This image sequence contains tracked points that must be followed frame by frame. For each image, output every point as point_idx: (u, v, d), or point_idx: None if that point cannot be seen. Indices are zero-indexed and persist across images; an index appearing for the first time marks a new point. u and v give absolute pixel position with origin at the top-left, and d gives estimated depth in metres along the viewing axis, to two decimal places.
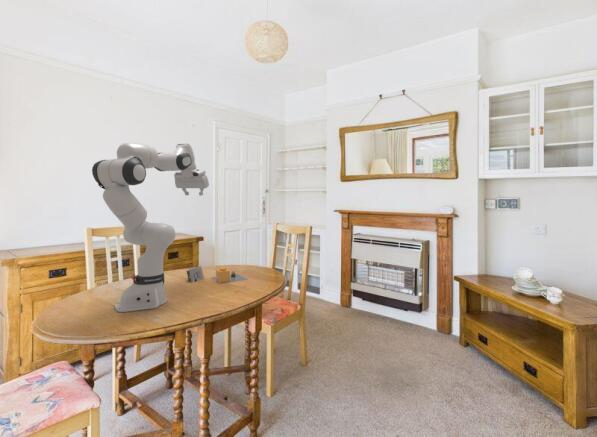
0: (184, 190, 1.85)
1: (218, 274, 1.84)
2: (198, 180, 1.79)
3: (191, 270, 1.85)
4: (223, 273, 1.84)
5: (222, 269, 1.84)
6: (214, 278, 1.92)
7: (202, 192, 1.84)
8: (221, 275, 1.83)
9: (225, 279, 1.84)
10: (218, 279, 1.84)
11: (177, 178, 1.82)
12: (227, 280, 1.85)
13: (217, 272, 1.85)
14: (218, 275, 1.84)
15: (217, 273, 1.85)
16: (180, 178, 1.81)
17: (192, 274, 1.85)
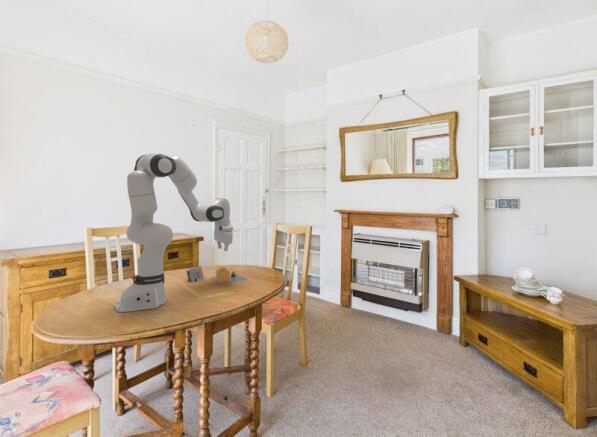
0: (218, 243, 1.89)
1: (218, 274, 1.84)
2: (223, 235, 1.79)
3: (191, 270, 1.85)
4: (223, 273, 1.84)
5: (222, 269, 1.84)
6: (214, 278, 1.92)
7: (227, 248, 1.81)
8: (221, 275, 1.83)
9: (225, 279, 1.84)
10: (218, 279, 1.84)
11: (215, 230, 1.89)
12: (227, 280, 1.85)
13: (217, 272, 1.85)
14: (218, 275, 1.84)
15: (217, 273, 1.85)
16: (216, 231, 1.88)
17: (192, 274, 1.85)
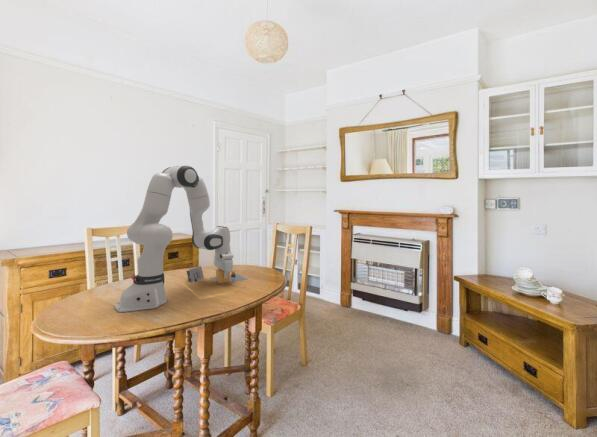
0: None
1: (218, 274, 1.84)
2: (224, 263, 1.80)
3: (191, 270, 1.85)
4: (223, 273, 1.84)
5: None
6: (214, 278, 1.92)
7: (226, 275, 1.83)
8: (221, 275, 1.83)
9: (225, 279, 1.84)
10: (218, 279, 1.84)
11: (215, 257, 1.91)
12: (227, 280, 1.85)
13: (217, 272, 1.85)
14: (218, 275, 1.84)
15: (217, 273, 1.85)
16: (216, 257, 1.89)
17: (192, 274, 1.85)
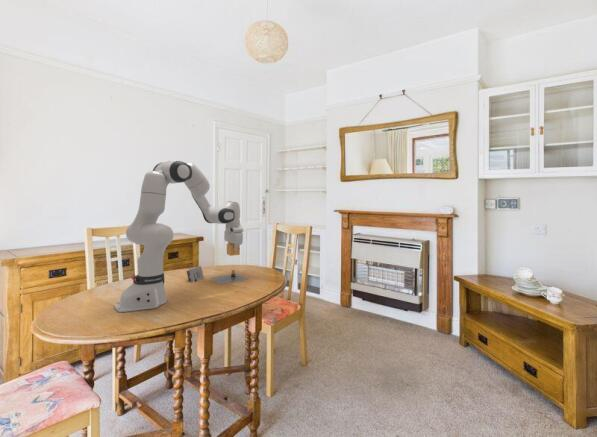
0: None
1: (229, 247, 1.93)
2: (234, 236, 1.89)
3: (191, 270, 1.85)
4: (233, 246, 1.92)
5: (232, 243, 1.93)
6: (214, 278, 1.92)
7: (236, 248, 1.92)
8: (231, 248, 1.92)
9: (235, 252, 1.93)
10: (229, 252, 1.93)
11: (225, 232, 1.99)
12: (237, 253, 1.94)
13: (228, 246, 1.94)
14: (228, 249, 1.93)
15: (228, 246, 1.94)
16: (226, 232, 1.98)
17: (192, 274, 1.85)
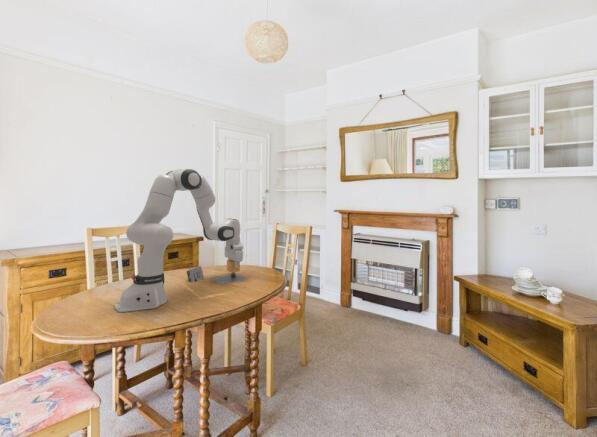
0: None
1: (229, 264, 1.94)
2: (234, 253, 1.90)
3: (191, 270, 1.85)
4: (234, 263, 1.93)
5: None
6: (214, 278, 1.92)
7: None
8: (232, 265, 1.93)
9: (235, 269, 1.94)
10: (229, 269, 1.94)
11: (225, 248, 2.00)
12: (237, 270, 1.95)
13: (228, 262, 1.95)
14: (229, 265, 1.94)
15: (228, 263, 1.95)
16: (227, 248, 1.99)
17: (192, 274, 1.85)
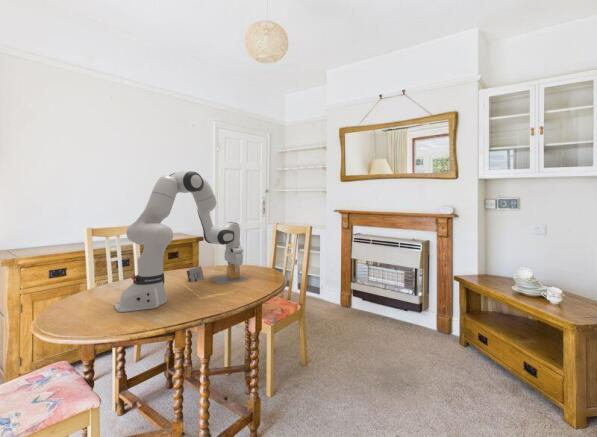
0: (228, 263, 2.00)
1: (229, 270, 1.94)
2: (234, 257, 1.90)
3: (191, 270, 1.85)
4: (233, 269, 1.94)
5: (232, 265, 1.94)
6: (214, 278, 1.92)
7: (237, 269, 1.92)
8: (232, 271, 1.93)
9: (235, 275, 1.94)
10: (229, 275, 1.94)
11: (225, 251, 2.00)
12: (237, 276, 1.95)
13: (228, 268, 1.95)
14: (228, 271, 1.94)
15: (228, 269, 1.95)
16: (227, 252, 1.99)
17: (192, 274, 1.85)
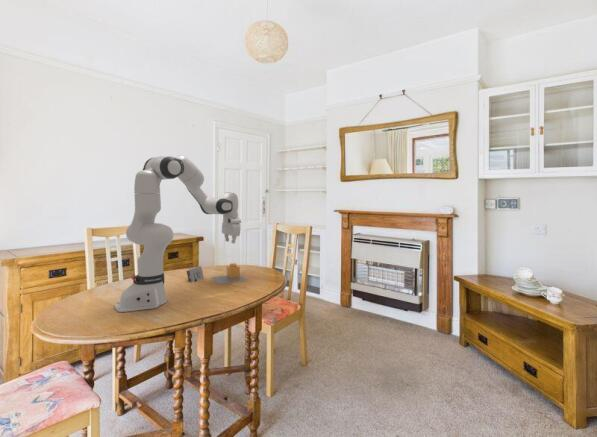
0: (225, 236, 1.96)
1: (229, 270, 1.94)
2: (231, 227, 1.85)
3: (191, 270, 1.85)
4: (233, 269, 1.94)
5: (232, 265, 1.94)
6: (214, 278, 1.92)
7: (234, 240, 1.87)
8: (232, 271, 1.93)
9: (235, 275, 1.94)
10: (229, 275, 1.94)
11: (223, 224, 1.96)
12: (237, 276, 1.95)
13: (228, 268, 1.95)
14: (228, 271, 1.94)
15: (228, 269, 1.95)
16: (224, 224, 1.94)
17: (192, 274, 1.85)
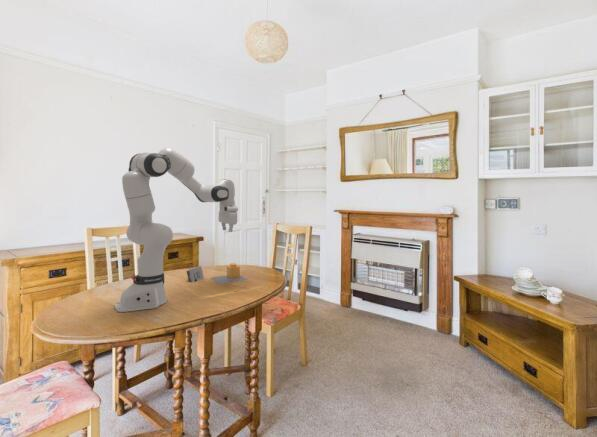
0: (222, 225, 1.90)
1: (229, 270, 1.94)
2: (228, 215, 1.80)
3: (191, 270, 1.85)
4: (233, 269, 1.94)
5: (232, 265, 1.94)
6: (214, 278, 1.92)
7: None
8: (232, 271, 1.93)
9: (235, 275, 1.94)
10: (229, 275, 1.94)
11: (219, 212, 1.90)
12: (237, 276, 1.95)
13: (228, 268, 1.95)
14: (228, 271, 1.94)
15: (228, 269, 1.95)
16: (221, 212, 1.89)
17: (192, 274, 1.85)
